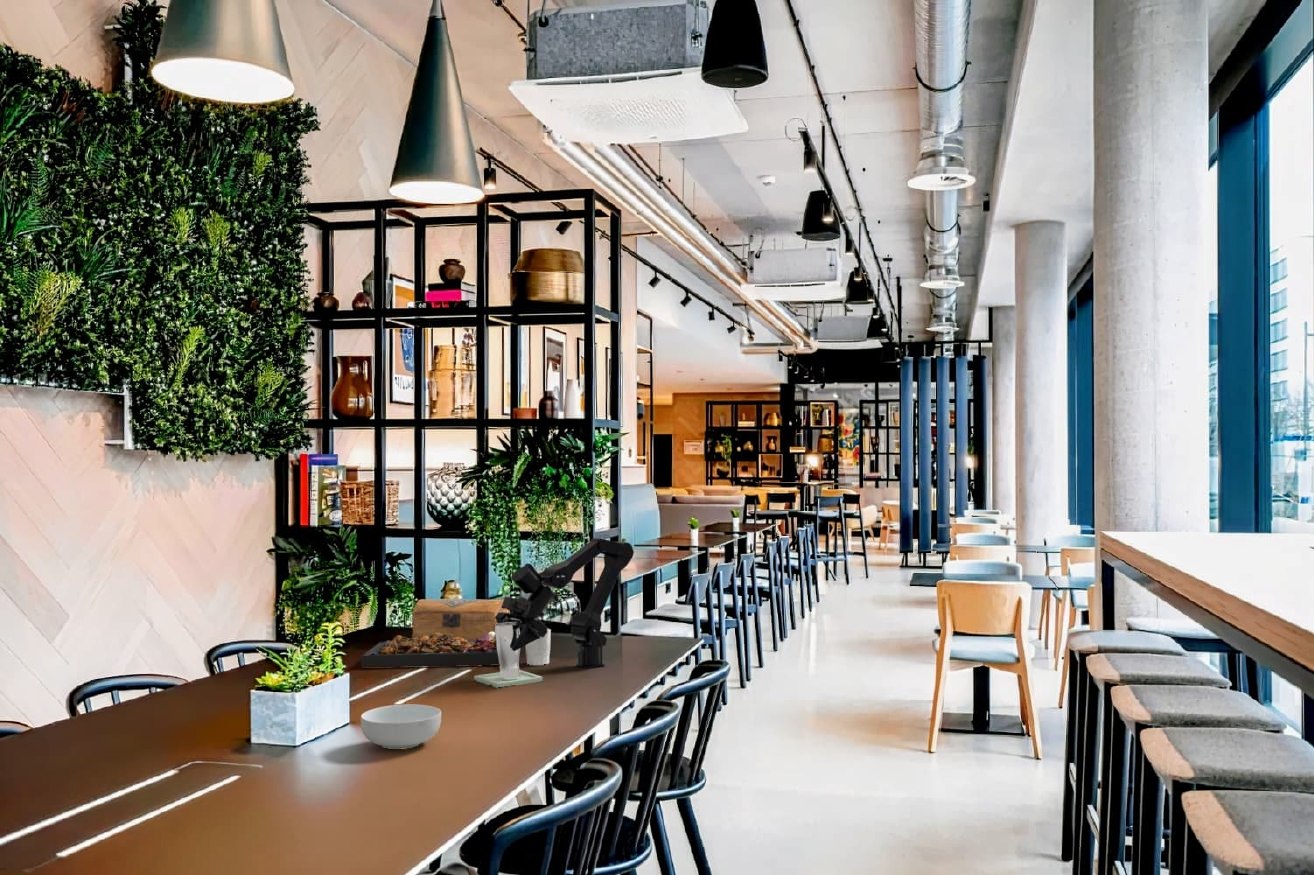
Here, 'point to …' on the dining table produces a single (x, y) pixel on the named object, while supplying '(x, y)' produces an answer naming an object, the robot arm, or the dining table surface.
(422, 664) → the food platter
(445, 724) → the dining table surface
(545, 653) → the white cup
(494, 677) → the tray
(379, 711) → the cereal bowl
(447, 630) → the wooden box
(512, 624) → the beer glass
